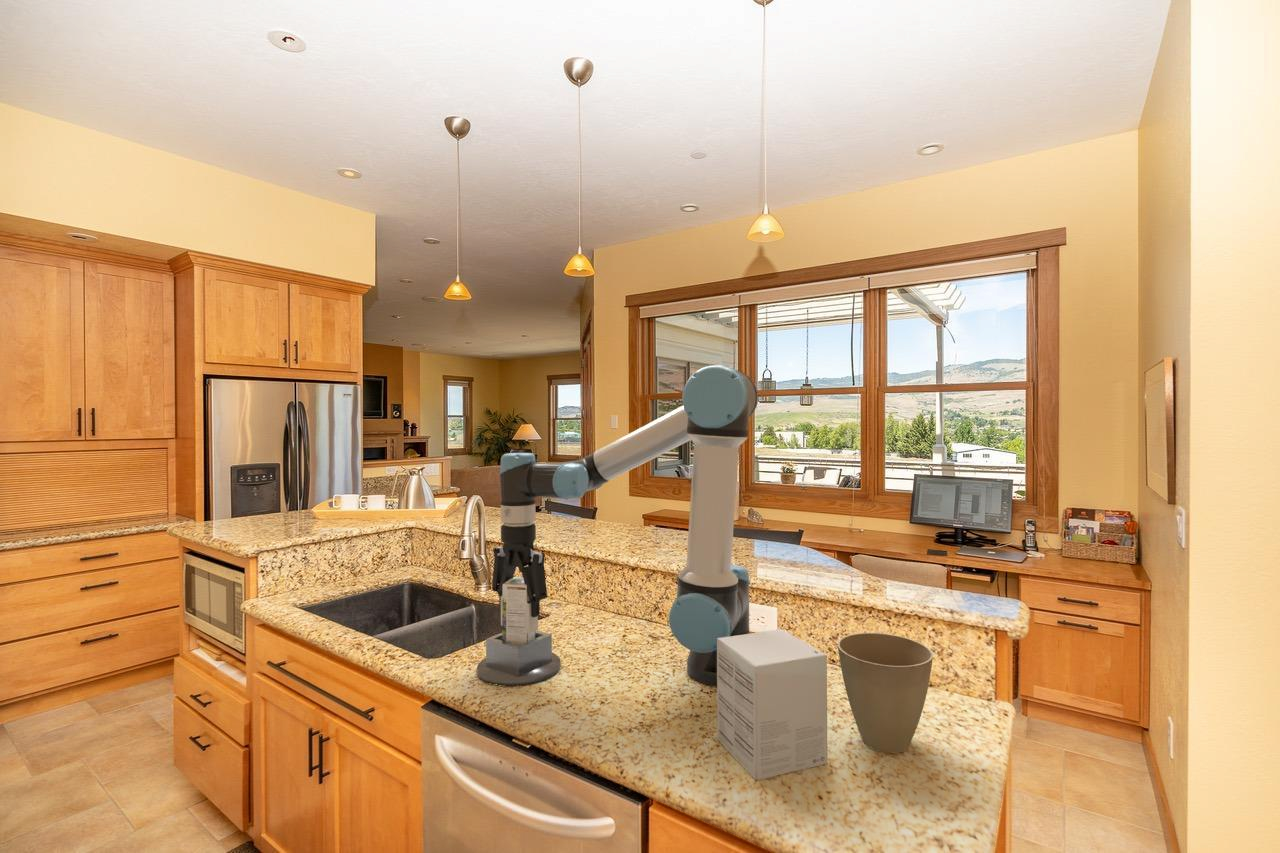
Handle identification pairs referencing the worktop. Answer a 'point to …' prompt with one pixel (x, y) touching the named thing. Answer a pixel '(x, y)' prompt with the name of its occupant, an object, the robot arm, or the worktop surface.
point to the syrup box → (515, 612)
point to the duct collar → (518, 661)
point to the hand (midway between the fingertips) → (519, 627)
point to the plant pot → (885, 686)
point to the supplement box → (772, 702)
